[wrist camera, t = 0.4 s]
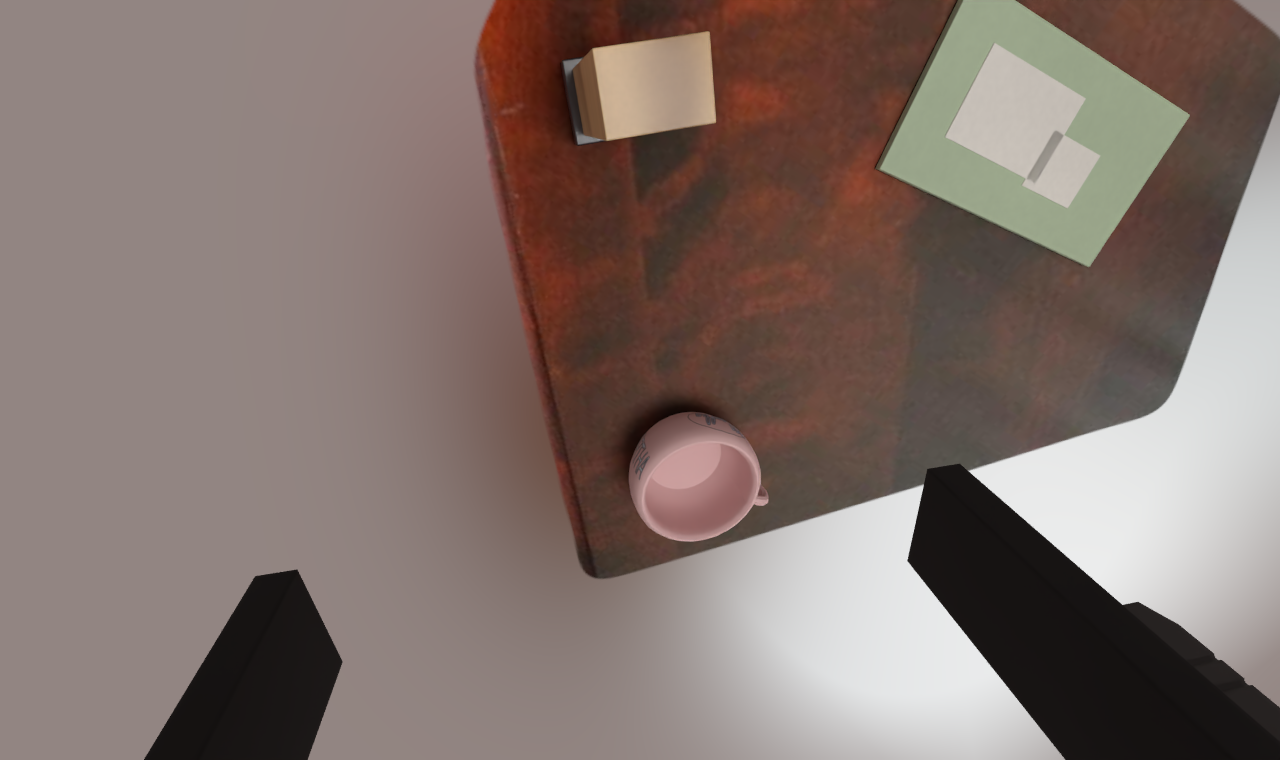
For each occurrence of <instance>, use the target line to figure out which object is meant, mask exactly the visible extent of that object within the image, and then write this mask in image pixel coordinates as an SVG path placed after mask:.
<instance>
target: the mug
mask: <svg viewBox="0 0 1280 760" xmlns="http://www.w3.org/2000/svg"><path fill="white" fill-rule="evenodd" d="M629 486H630V492H631V497H632V500H633V502H634V505H635V507H636V509H637V512H638V514H639V515H640V517H641V518H642V520H643V521H644V522H645V523H646V525H647V526H648V527H649V528H651V529H652V530H653V531H655V532H656V533H658V534H660V535H662V536H664V537H667V538H669V539H673V540H678V541H699V540H705V539H708V538H712V537H715V536H717V535H719V534H721V533H723V532H725V531H727V530H729V529H730V528H732V527H733V526H735V525H736V524H737V523H738V522H739V521H740V520H742V519H743V518H744V517H745V516H746V514H747V513H748V512H749V510H750V509H751V508H752V506H753V504H755V505H760V506H762V505H765V504H766V503H768V498H769V496H768V493H767V491H766V490H765V488H764V487H763V486H762V485H761V470H760V466H759V463H758V459H757V456H756V454H755V452H754V451H753V449H752V447H751V445H750V444H749V442H748V440H747V439H746V438H745V436H744V435H743V434H742V433H741V432H740V431H739V430H738V429H737V428H736V427H734V426H733V425H731V424H730V423H728V422H727V421H725V420H723V419H721V418H718V417H715V416H712V415H709V414H705V413H700V412H684V413H678V414H675V415H671V416H669V417H667V418H665V419H663V420H661V421H659V422H658V423H656V424H655V425H653V426H652V427H651V428H650V429H649V430H648V431H647V432H646V433H645V434H644V435H643V437H642V438H641V440H640V441H639V443H638V445H637V447H636V449H635V451H634V454H633V457H632V460H631V462H630V469H629Z"/></svg>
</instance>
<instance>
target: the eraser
mask: <svg viewBox="0 0 1280 760" xmlns="http://www.w3.org/2000/svg"><path fill="white" fill-rule="evenodd" d="M561 70H562V75H563V81H564V86H565V92H566V97H567V103H568V109H569V114H570V120H571V125H572V131H573V136H574V142H575V145H578V146H579V145H585V144H591V143H597V142H603V141H611V140H617V139H623V138H629V137H635V136H641V135H647V134H653V133H659V132H665V131H671V130H677V129H683V128H689V127H695V126H701V125H707V124H713V123H716V114H715V100H714V86H713V72H712V58H711V44H710V32H709V31H706V32H699V33H692V34H686V35H679V36H672V37H665V38H658V39H652V40H645V41H638V42H631V43H624V44H618V45H611V46H604V47H597V48H592V49H591V50H590V51H589V52H588V54H587V55H586V56H585V57H579V58H572V59H566V60H562V61H561Z"/></svg>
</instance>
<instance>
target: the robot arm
mask: <svg viewBox="0 0 1280 760" xmlns="http://www.w3.org/2000/svg"><path fill="white" fill-rule="evenodd" d="M908 562H909V563H910V564H911V566H912V567H913V568H914V570H915V571H916V572H917V574H918V575H919V576H920V577H921V579H922V580H923V581H924V582H925V584H926V585H927V586H928V587H929V589H930V590H931V591H932V592H933V594H934V595H935V596H936V597H937V599H938V600H939V601H940V602H941V604H942V605H943V606H944V607H945V609H946V610H947V611H948V613H949V614H950V615H951V616H952V618H953V619H954V620H955V621H956V623H957V624H958V625H959V626H960V628H961V629H962V630H963V631H964V633H965V634H966V635H967V636H968V638H969V639H970V640H971V641H972V643H973V644H974V645H975V646H976V648H977V649H978V650H979V651H980V653H981V654H982V655H983V657H984V658H985V659H986V660H987V662H988V663H989V664H990V665H991V667H992V668H993V669H994V670H995V672H996V673H997V674H998V675H999V677H1000V678H1001V679H1002V680H1003V682H1004V683H1005V684H1006V686H1007V687H1008V688H1009V689H1010V691H1011V692H1012V693H1013V694H1014V695H1015V697H1016V698H1017V699H1018V701H1019V702H1020V703H1021V704H1022V706H1023V707H1024V708H1025V709H1026V711H1027V712H1028V713H1029V714H1030V716H1031V717H1032V718H1033V720H1034V721H1035V722H1036V723H1037V725H1038V726H1039V727H1040V728H1041V730H1042V731H1043V732H1044V733H1045V735H1046V736H1047V737H1048V738H1049V740H1050V741H1051V742H1052V743H1053V744H1054V746H1055V747H1056V748H1057V750H1058V751H1059V752H1060V753H1061V755H1062V756H1063V757H1064V758H1065V760H1280V708H1279V707H1278V706H1277V705H1276V704H1275V703H1273V702H1272V701H1271V700H1270V699H1269V698H1267V697H1266V696H1265V695H1263V694H1262V693H1261V692H1260V691H1259V690H1258V689H1256V688H1255V687H1254V686H1253V685H1247V684H1246V683H1245V681H1244V678H1243V677H1242V676H1240V675H1239V674H1238V673H1237V672H1236V671H1234V670H1233V669H1232V668H1231V667H1230V666H1228V665H1227V664H1226V663H1225V662H1224V661H1222V660H1217V659H1216V658H1215V656H1214V653H1213V652H1211V651H1210V650H1209V649H1208V648H1206V647H1205V646H1204V645H1203V644H1202V643H1200V642H1199V641H1198V640H1197V639H1196V638H1194V637H1193V636H1192V635H1191V634H1189V633H1188V632H1187V631H1186V630H1185V629H1183V628H1182V627H1181V626H1180V625H1178V624H1176V623H1175V622H1173V621H1171V620H1169V619H1168V618H1166V617H1164V616H1162V615H1160V614H1159V613H1157V612H1155V611H1153V610H1151V609H1150V608H1148V607H1146V606H1144V605H1143V604H1141V603H1139V602H1135V603H1130V604H1125V605H1122V604H1121V603H1120V602H1118V601H1117V600H1116V599H1115V598H1114V597H1112V596H1111V595H1110V594H1109V593H1108V592H1107V591H1106V590H1105V589H1103V588H1102V587H1101V586H1100V585H1099V584H1098V583H1096V582H1095V581H1094V580H1093V579H1092V578H1091V577H1090V576H1088V575H1087V574H1086V573H1085V572H1084V571H1083V570H1081V569H1080V568H1079V567H1078V566H1077V565H1076V564H1075V563H1073V562H1072V561H1071V560H1070V559H1069V558H1067V557H1066V556H1065V555H1064V554H1063V553H1062V552H1061V551H1060V550H1058V549H1057V548H1056V547H1055V546H1054V545H1053V544H1052V543H1050V542H1049V541H1048V540H1047V539H1046V538H1045V537H1043V536H1042V535H1041V534H1040V533H1039V532H1038V531H1036V530H1035V529H1034V528H1033V527H1032V526H1031V525H1030V524H1028V523H1027V522H1026V521H1025V520H1024V519H1023V518H1022V517H1020V516H1019V515H1018V514H1017V513H1015V511H1013V510H1012V509H1011V508H1010V507H1009V506H1008V505H1007V504H1005V503H1004V502H1003V501H1002V500H1001V499H1000V498H998V497H997V496H996V495H995V494H994V493H992V491H990V490H989V489H988V488H987V487H986V486H985V485H984V484H982V483H981V482H980V481H979V480H978V479H977V478H975V477H974V476H973V475H972V474H971V473H970V472H969V471H967V470H966V469H965V468H964V467H963V466H962V465H960V464H955V465H949V466H943V467H937V468H930V469H927V474H926V478H925V483H924V488H923V492H922V497H921V501H920V506H919V511H918V515H917V519H916V524H915V529H914V533H913V538H912V542H911V547H910V552H909V557H908ZM341 665H342V660H341V658H340V656H339V654H338V651H337V650H336V647H335V645H334V644H333V641H332V639H331V637H330V635H329V633H328V631H327V629H326V627H325V625H324V623H323V621H322V619H321V617H320V615H319V613H318V611H317V609H316V607H315V605H314V603H313V601H312V598H311V596H310V594H309V592H308V591H307V588H306V586H305V584H304V582H303V580H302V578H301V576H300V574H299V572H298V570H292V571H286V572H280V573H273V574H266V575H261V576H255V578H254V579H253V581H252V582H251V584H250V586H249V587H248V589H247V591H246V593H245V594H244V596H243V597H242V599H241V601H240V602H239V604H238V606H237V607H236V609H235V611H234V612H233V614H232V615H231V617H230V619H229V621H228V622H227V624H226V625H225V627H224V629H223V631H222V632H221V634H220V635H219V637H218V638H217V640H216V642H215V644H214V645H213V647H212V649H211V650H210V652H209V654H208V655H207V657H206V658H205V660H204V662H203V663H202V665H201V667H200V668H199V670H198V671H197V673H196V675H195V676H194V678H193V680H192V681H191V683H190V685H189V686H188V688H187V690H186V691H185V693H184V695H183V696H182V698H181V700H180V701H179V703H178V704H177V706H176V708H175V709H174V711H173V713H172V714H171V716H170V718H169V719H168V721H167V723H166V724H165V726H164V728H163V729H162V731H161V732H160V734H159V736H158V737H157V739H156V741H155V742H154V744H153V746H152V747H151V749H150V751H149V752H148V754H147V756H146V757H145V759H144V760H308V757H309V754H310V751H311V749H312V745H313V743H314V740H315V737H316V735H317V731H318V729H319V726H320V723H321V721H322V718H323V715H324V712H325V710H326V706H327V704H328V701H329V698H330V695H331V693H332V690H333V687H334V684H335V682H336V679H337V676H338V673H339V670H340V667H341Z"/></svg>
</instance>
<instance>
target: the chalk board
mask: <svg viewBox="0 0 1280 760" xmlns="http://www.w3.org/2000/svg"><path fill="white" fill-rule="evenodd" d="M1189 116H1190V115H1189V114H1188V113H1186V112H1185V111H1183V110H1182V109H1180V108H1178V107H1177V106H1175V105H1174V104H1172V103H1171V102H1169V101H1168V100H1166V99H1165V98H1163V97H1162V96H1160V95H1159V94H1157V93H1156V92H1154V91H1153V90H1151V89H1149V88H1148V87H1146V86H1145V85H1143V84H1142V83H1140V82H1139V81H1137V80H1136V79H1134V78H1133V77H1131V76H1130V75H1128V74H1127V73H1125V72H1124V71H1122V70H1120V69H1119V68H1117V67H1116V66H1114V65H1113V64H1111V63H1110V62H1108V61H1107V60H1105V59H1104V58H1102V57H1101V56H1099V55H1098V54H1096V53H1095V52H1093V51H1091V50H1090V49H1088V48H1087V47H1085V46H1084V45H1082V44H1081V43H1079V42H1078V41H1076V40H1075V39H1073V38H1072V37H1070V36H1069V35H1067V34H1066V33H1064V32H1062V31H1061V30H1059V29H1058V28H1056V27H1055V26H1053V25H1052V24H1050V23H1049V22H1047V21H1046V20H1044V19H1043V18H1041V17H1040V16H1038V15H1037V14H1035V13H1033V12H1032V11H1030V10H1029V9H1027V8H1026V7H1024V6H1023V5H1021V4H1020V3H1018V2H1017V1H1015V0H958V1H957V3H956V5H955V7H954V9H953V11H952V13H951V15H950V17H949V19H948V21H947V24H946V26H945V28H944V30H943V32H942V34H941V36H940V38H939V40H938V42H937V44H936V46H935V48H934V50H933V52H932V54H931V56H930V58H929V60H928V62H927V64H926V66H925V68H924V70H923V72H922V74H921V76H920V78H919V80H918V82H917V84H916V87H915V89H914V91H913V93H912V95H911V97H910V99H909V101H908V103H907V105H906V107H905V109H904V111H903V113H902V115H901V117H900V119H899V121H898V123H897V125H896V127H895V129H894V131H893V133H892V135H891V137H890V139H889V141H888V143H887V145H886V147H885V150H884V152H883V154H882V156H881V158H880V160H879V162H878V164H877V166H876V168H875V169H877V170H879V171H881V172H883V173H885V174H888V175H890V176H892V177H894V178H896V179H898V180H900V181H903V182H905V183H907V184H909V185H911V186H913V187H915V188H918V189H920V190H922V191H924V192H926V193H928V194H930V195H933V196H935V197H937V198H939V199H941V200H943V201H946V202H948V203H950V204H952V205H954V206H956V207H958V208H961V209H963V210H965V211H967V212H969V213H971V214H973V215H976V216H978V217H980V218H982V219H984V220H986V221H988V222H991V223H993V224H995V225H997V226H999V227H1001V228H1004V229H1006V230H1008V231H1010V232H1012V233H1014V234H1016V235H1019V236H1021V237H1023V238H1025V239H1027V240H1029V241H1031V242H1034V243H1036V244H1038V245H1040V246H1042V247H1044V248H1047V249H1049V250H1051V251H1053V252H1055V253H1057V254H1059V255H1062V256H1064V257H1066V258H1068V259H1070V260H1072V261H1074V262H1077V263H1079V264H1081V265H1083V266H1087V267H1090V265H1091V264H1092V262H1093V261H1094V259H1095V258H1096V256H1097V255H1098V253H1099V252H1100V250H1101V249H1102V247H1103V246H1104V244H1105V243H1106V241H1107V240H1108V238H1109V237H1110V235H1111V234H1112V232H1113V231H1114V229H1115V228H1116V226H1117V225H1118V223H1119V222H1120V220H1121V219H1122V217H1123V216H1124V214H1125V213H1126V211H1127V210H1128V208H1129V206H1130V205H1131V203H1132V202H1133V200H1134V199H1135V197H1136V196H1137V194H1138V193H1139V191H1140V190H1141V188H1142V187H1143V185H1144V184H1145V182H1146V181H1147V179H1148V178H1149V176H1150V175H1151V173H1152V172H1153V170H1154V169H1155V167H1156V166H1157V164H1158V163H1159V161H1160V160H1161V158H1162V157H1163V155H1164V154H1165V152H1166V151H1167V149H1168V148H1169V146H1170V145H1171V143H1172V142H1173V140H1174V139H1175V137H1176V136H1177V134H1178V133H1179V131H1180V130H1181V128H1182V127H1183V125H1184V124H1185V122H1186V121H1187V119H1188V118H1189Z"/></svg>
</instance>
